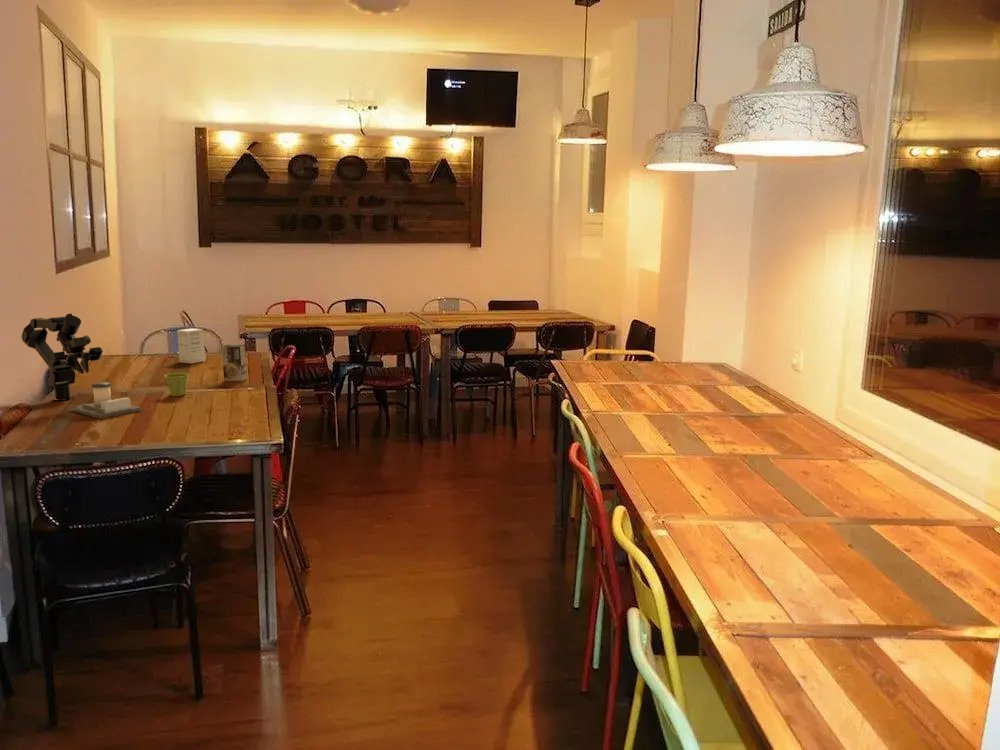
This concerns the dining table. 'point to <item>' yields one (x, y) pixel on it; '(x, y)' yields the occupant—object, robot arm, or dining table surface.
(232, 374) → the coffee box
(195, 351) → the supplement box
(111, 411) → the knob mount
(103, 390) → the knob
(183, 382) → the plant pot
